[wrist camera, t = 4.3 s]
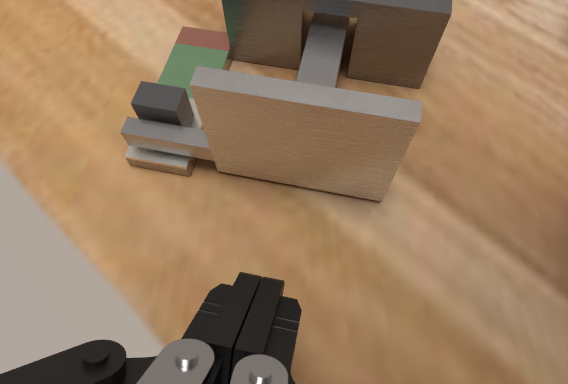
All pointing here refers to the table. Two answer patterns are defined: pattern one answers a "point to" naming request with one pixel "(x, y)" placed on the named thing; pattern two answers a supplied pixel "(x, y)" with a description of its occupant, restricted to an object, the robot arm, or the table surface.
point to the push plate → (293, 123)
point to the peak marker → (163, 104)
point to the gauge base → (302, 48)
